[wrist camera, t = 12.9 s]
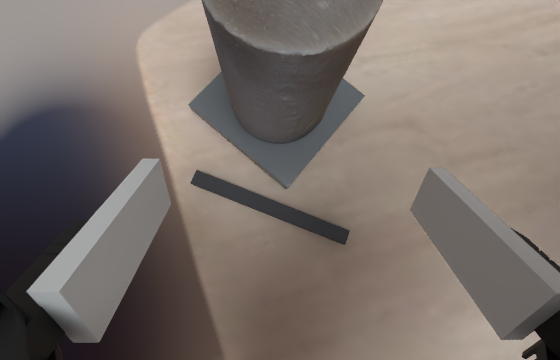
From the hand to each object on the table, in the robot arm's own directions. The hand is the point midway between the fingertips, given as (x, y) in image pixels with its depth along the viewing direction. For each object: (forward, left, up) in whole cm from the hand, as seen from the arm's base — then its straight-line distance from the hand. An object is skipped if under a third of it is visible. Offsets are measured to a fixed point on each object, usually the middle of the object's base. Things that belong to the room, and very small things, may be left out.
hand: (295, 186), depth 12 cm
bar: (+1, 0, -13) cm, 13 cm away
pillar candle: (-8, -7, -12) cm, 16 cm away
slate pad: (-8, -7, -13) cm, 17 cm away
